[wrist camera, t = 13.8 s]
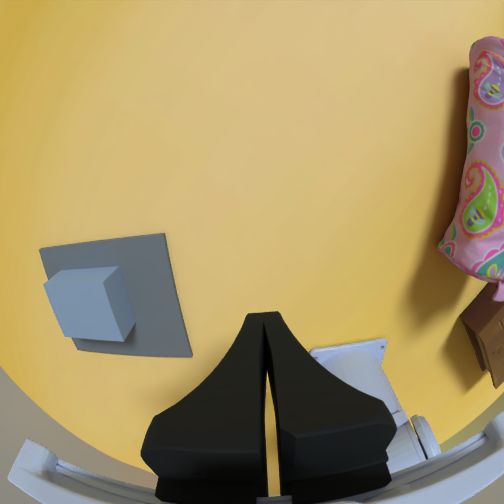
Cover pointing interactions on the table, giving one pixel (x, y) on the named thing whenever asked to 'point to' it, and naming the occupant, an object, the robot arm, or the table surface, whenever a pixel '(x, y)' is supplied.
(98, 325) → the block
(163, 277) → the mat
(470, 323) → the diary
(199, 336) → the table surface
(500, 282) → the pencil case
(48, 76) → the table surface
